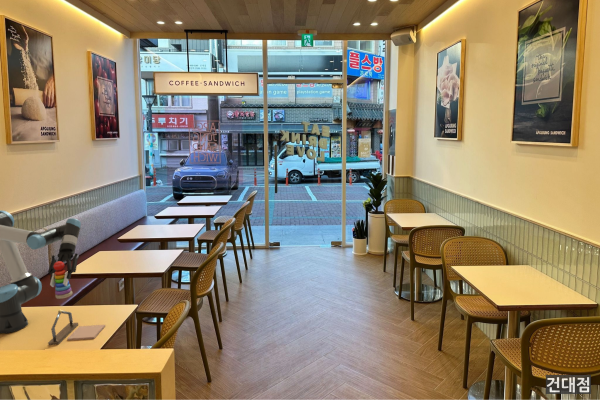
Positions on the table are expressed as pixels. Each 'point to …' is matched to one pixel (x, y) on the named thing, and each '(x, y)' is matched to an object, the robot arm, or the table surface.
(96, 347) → the table surface
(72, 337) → the terracotta pad
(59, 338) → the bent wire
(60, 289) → the stacking toy
